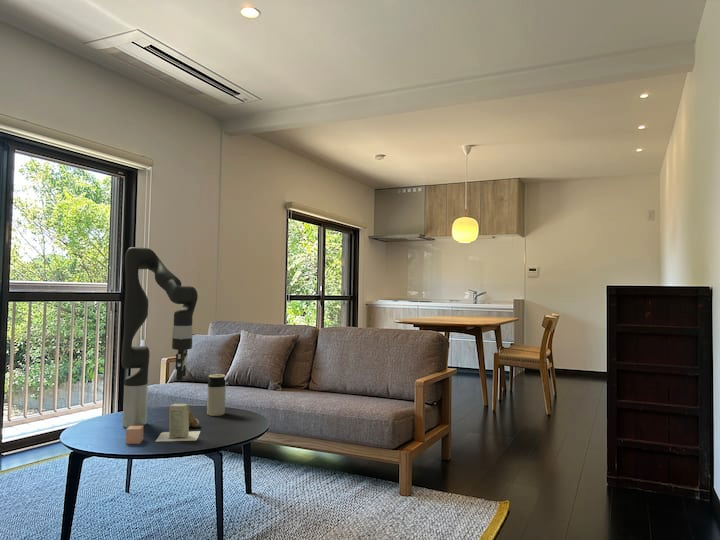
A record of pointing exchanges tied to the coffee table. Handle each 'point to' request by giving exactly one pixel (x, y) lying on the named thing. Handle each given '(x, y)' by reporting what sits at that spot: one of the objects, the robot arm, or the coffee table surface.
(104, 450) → the coffee table surface
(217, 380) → the travel mug
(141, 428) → the terracotta block
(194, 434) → the letter mat
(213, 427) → the coffee table surface
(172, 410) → the skincare box
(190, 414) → the ceramic sculpture
